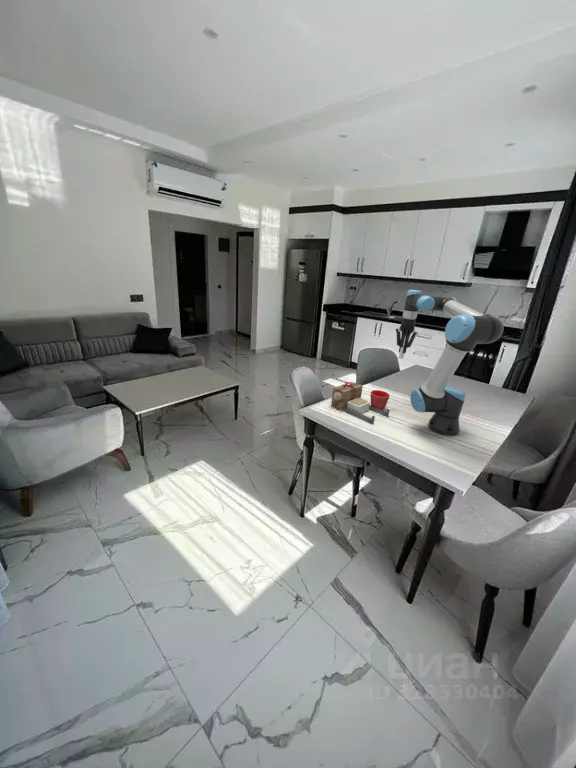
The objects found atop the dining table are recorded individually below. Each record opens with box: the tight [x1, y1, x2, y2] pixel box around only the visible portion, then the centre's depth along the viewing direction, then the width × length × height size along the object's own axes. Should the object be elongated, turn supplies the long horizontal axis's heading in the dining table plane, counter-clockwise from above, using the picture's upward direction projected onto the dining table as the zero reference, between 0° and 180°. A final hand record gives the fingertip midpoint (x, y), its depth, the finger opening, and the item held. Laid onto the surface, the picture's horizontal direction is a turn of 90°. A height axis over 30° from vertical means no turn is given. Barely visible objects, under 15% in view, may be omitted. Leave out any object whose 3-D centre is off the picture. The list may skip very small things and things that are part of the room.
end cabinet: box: [330, 381, 364, 412], centre depth 186 cm, size 8×18×12 cm, turn 133°
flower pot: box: [370, 389, 391, 411], centre depth 185 cm, size 11×11×10 cm
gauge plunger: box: [344, 381, 353, 389], centre depth 184 cm, size 4×4×8 cm
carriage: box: [347, 397, 371, 414], centre depth 181 cm, size 8×11×6 cm
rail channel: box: [342, 404, 390, 425], centre depth 178 cm, size 20×16×4 cm
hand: (401, 358), depth 186 cm, fingers closed
